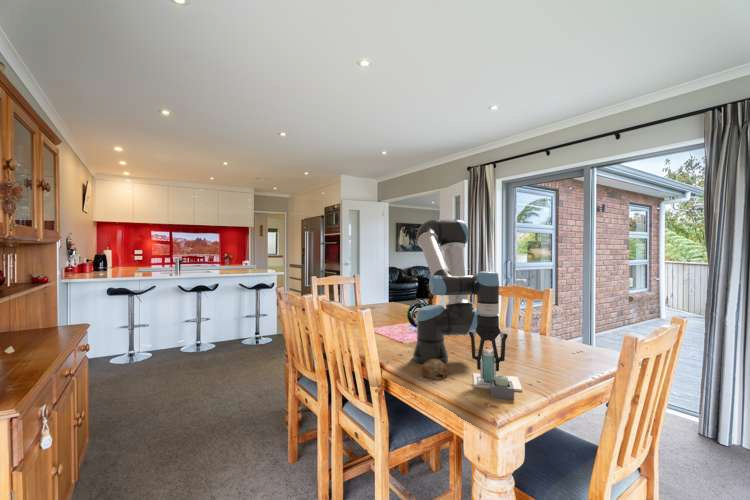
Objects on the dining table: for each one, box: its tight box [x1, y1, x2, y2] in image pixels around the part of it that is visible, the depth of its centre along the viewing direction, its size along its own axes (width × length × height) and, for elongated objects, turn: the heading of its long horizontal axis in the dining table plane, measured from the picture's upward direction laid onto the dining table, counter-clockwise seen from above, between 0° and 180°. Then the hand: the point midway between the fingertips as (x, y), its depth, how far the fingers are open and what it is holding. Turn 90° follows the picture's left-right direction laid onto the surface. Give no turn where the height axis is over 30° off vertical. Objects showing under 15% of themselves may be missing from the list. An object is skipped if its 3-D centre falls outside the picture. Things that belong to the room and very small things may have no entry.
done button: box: [495, 374, 508, 387], centre depth 118 cm, size 4×4×4 cm
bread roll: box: [420, 359, 449, 381], centre depth 136 cm, size 10×10×8 cm
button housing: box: [489, 379, 515, 401], centre depth 118 cm, size 7×7×4 cm
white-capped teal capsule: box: [481, 349, 495, 383], centre depth 127 cm, size 4×4×11 cm
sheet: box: [472, 372, 523, 393], centre depth 128 cm, size 16×12×1 cm
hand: (488, 379), depth 127 cm, fingers closed on white-capped teal capsule, 4 cm apart
